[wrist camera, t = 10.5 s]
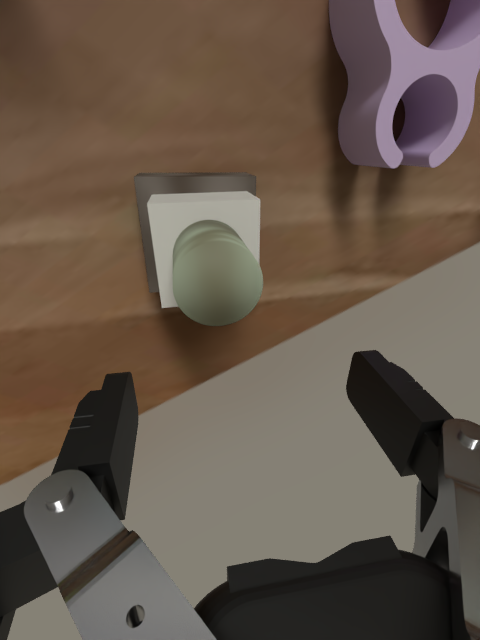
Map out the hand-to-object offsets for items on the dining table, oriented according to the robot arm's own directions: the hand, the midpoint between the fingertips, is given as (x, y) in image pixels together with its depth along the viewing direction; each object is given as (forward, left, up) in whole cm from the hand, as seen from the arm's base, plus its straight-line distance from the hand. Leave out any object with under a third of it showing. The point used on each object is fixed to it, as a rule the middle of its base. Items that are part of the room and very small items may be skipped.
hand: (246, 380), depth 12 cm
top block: (0, 0, -20) cm, 20 cm away
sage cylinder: (0, 0, -15) cm, 15 cm away
